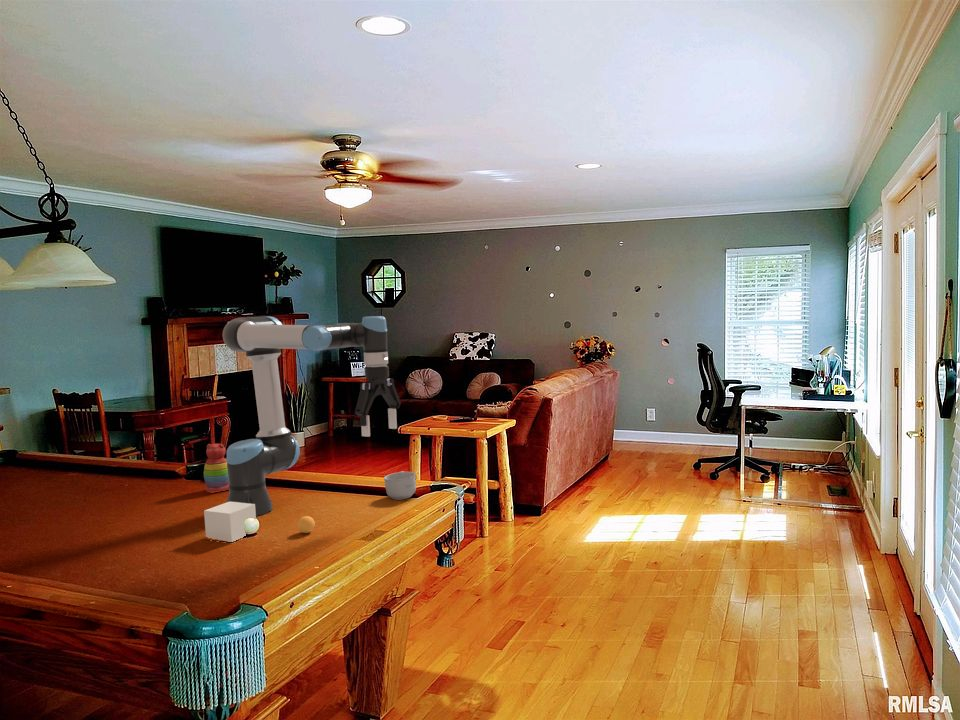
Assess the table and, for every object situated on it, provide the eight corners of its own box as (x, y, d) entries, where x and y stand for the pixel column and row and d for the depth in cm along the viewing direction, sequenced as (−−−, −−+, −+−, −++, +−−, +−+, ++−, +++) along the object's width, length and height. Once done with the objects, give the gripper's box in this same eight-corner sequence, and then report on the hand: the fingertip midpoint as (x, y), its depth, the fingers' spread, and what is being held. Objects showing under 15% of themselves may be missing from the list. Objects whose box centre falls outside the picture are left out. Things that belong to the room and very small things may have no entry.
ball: (294, 534, 219) (293, 517, 219) (305, 529, 224) (304, 513, 223) (308, 536, 217) (306, 519, 216) (318, 531, 221) (317, 514, 221)
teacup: (411, 502, 249) (410, 478, 248) (380, 501, 251) (379, 478, 251) (422, 491, 263) (421, 469, 262) (393, 490, 265) (392, 469, 264)
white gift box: (206, 539, 218) (203, 510, 217) (231, 529, 227) (229, 501, 226) (232, 543, 213) (229, 513, 213) (257, 532, 222) (255, 504, 222)
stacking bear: (239, 486, 281) (235, 440, 280) (224, 493, 271) (220, 446, 270) (213, 486, 284) (210, 440, 282) (198, 493, 274) (194, 446, 272)
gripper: (360, 369, 219) (363, 440, 220) (409, 361, 240) (412, 426, 242) (340, 369, 222) (344, 438, 224) (391, 361, 244) (394, 424, 246)
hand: (379, 432), depth 233 cm, fingers open, 13 cm apart
